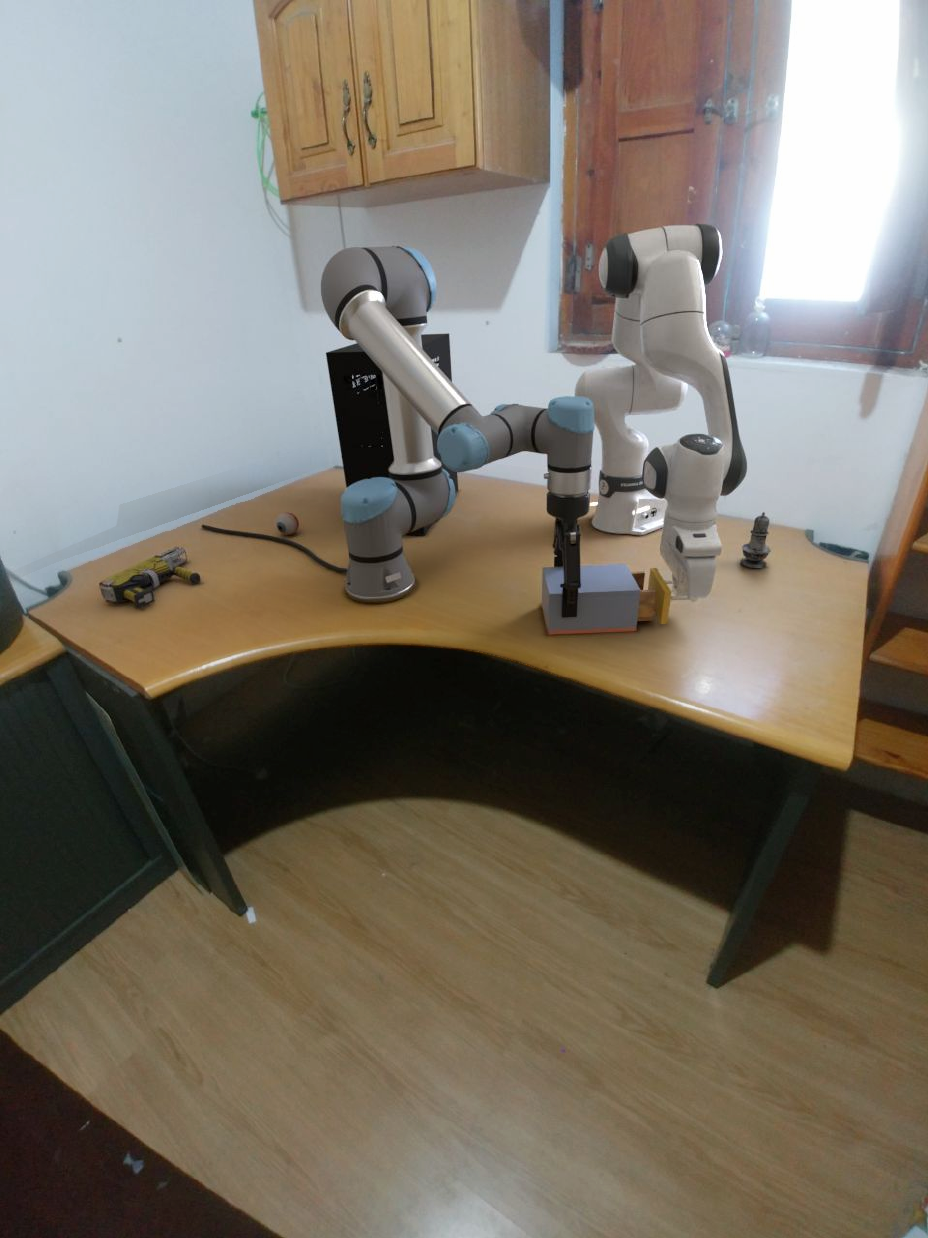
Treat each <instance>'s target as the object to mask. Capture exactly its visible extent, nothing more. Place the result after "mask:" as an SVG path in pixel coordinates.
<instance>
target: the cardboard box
mask: <svg viewBox="0 0 928 1238" xmlns="http://www.w3.org/2000/svg"><path fill="white" fill-rule="evenodd" d="M421 340H422V349H423V351H424V352H425V353H426V354H427V355H428V356H429V357H430V358H431V359H432V360H434V361H433V362H434V363H435V364H436V365H437V366H438V367H439V368H440V370H441V371H442V372H443V373H444V374H445V375H446V376H447V377H448V379H449V380H450V381H451V382H452V383H453V375H452V357H451V343H450V342H451V340H450V333H429V334H428V333H424V334H423V333H422V334H421ZM325 356H326V362H327V364H326V365H327V370H328V374H329V383H330V390H331V396H332V402H333V409H334V415H335V421H336V428H337V429H336V430H337V435H338V441H339V448H340V454H341V455H340V456H341V461H342V469H343V474H344V482H345V487H346V488H347V487H349V486H350V485H352V484H354V483H356V482H358V481H361V480H364V479H371V478H374V477H385V478H389V479H390V476H389V467H390V465H391V464H392V463H393V461H394V454H393V447H392V440H391V432H390V425H389V418H388V410H387V403H386V396H385V389H384V381H383V374H382V371H381V370H380V368H379V367H378V366H377V365H376V364H375V363H374V361H373V360H372V359H371V358H370V357H369V356H368V355H367V353H366V352H365V351H364V350H363V349H362V348H361V347H360V345H359V344H358V343H357V342H355V343H353V344H350V345H347V346H343V347H339V348H337V349H333V350H330V351H327V352H325ZM431 435H432V445H433V454H434V457H435V458H437V459H438V460H439V461H440V462H441V464H442V468H443V469H444V470H446V471H447V472H448V473H449V475H450V477H449V478H450V479H452V480H453V483H454V486H455V495H456V494H457V493H458V491H459V481H458V480H459V479H458V472H455V471H452V470H450V469H448V468H447V467H446V466H445V465H444V463H443V462H442V460H441V455H440V454H439V453H438V448H437V442H438V437H439V436H438V435H437V434H436V433H435V431H434V430H433V429H432V428H431ZM346 488H345V489H346ZM434 524H435V523H433V524H429V525H427V526H424V527H422V528H419V529H417V530H414V531H412V532H410V533H407V534H405V535H404V536H406V535H407V536H426V534H428V532H429V531H430V529H431V528H432V526H433V525H434Z"/></svg>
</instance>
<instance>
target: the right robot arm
mask: <svg viewBox="0 0 928 1238" xmlns="http://www.w3.org/2000/svg"><path fill="white" fill-rule="evenodd" d="M722 256H723V243H722V236H721V233H720V232H719V230H718V229H717V227H716V226H714V225H712V224H707V223H696V224H694V225H692V224H690V225H689V224H675V225H662V226H660V227H655V228H649V229H648V228H647V229H643V230H638V231H635V232H631V233H627V232H622V233H619V234H617V235H614V236H612V237H610V238H608V239H607V241H606V242H605V244H604V245H603V248H602V251H601V254H600V257H599V261H598V277H599V282H600V284H601V288H602V290H603V291H604V292H605V293H606V294H607V295H608V296H609V297H613V298H615V301H614V310H613V311H614V313H613V323H612V331H611V333H612V334H611V343H612V346H613V349H615V351H616V352H617V353H618V354H619V355H620V356H622V357H623V358H624V359H626V360H628V361H630V362H632V363H634V364H632V365H617V366H616V365H614V366H601V367H597V368H596V367H595V368H593V369H589V370H585V371H583V372H582V373H581V375H580V376H579V377H578V379H577V381H576V384H575V387H574V396H579V397H586V398H588V399H590V400H591V401H592V402H593V405H594V425H595V427H596V429H597V431H598V434H599V436H600V437H599V438H600V443H601V468H600V470H599V474H598V492H599V493H598V498H597V501H596V502H590V505H589V507H592V506H596V507H595V511H594V514H593V517H592V520H591V525H592V526H593V527H594V528H595V529H597V530H599V531H601V532H605V533H611V534H623V535H625V534H626V535H632V536H633V535H634V536H645V535H646V534H650V533H652V532H654V531H657V530H660V529H662V533H661V538H660V544H659V555H660V556H661V558H662V560H663V561H664V563H665V564H666V566H667V567H668V569H669V571H670V572H671V580H672V581H673V584H672V589H671V593H672V594H673V596H687V597H688V598H698V599H705V598H707V597H708V596H709V595H710V594H711V592H712V588H713V583H714V579H715V574H716V570H717V556H718V557H719V556H720V555H721V554H722V549H723V544H722V541H721V540H720V536H719V534H718V526H717V519H718V500H719V498H720V497H726V496H729V495H730V494H732V493H733V492H734V491H735V490H736V489H737V488H738V487H739V486H740V485H741V484H742V482H743V481H744V480H745V478H746V476H747V473H748V460H747V455H746V452H745V449H744V446H743V444H742V440H741V436H740V431H739V424H738V419H737V412H736V406H735V398H734V393H733V387H732V382H731V376H730V371H729V365H728V362H727V359H726V355H725V353H724V351H722V350H721V349H719V348H717V346H716V345H715V344H714V342H713V340H712V338H711V335H710V334H709V330H708V326H707V310H706V309H707V308H706V292H705V286H707V285H709V284H710V283H711V282H712V281H713V280H714V278H716V276H717V275H718V272H719V269H720V265H721V262H722ZM689 386H690V387H692V388H693V389H694V390H695V391H697V393H698V394H699V395H700V397H701V399H702V403H703V409H704V415H705V422H706V427H707V434H705V433H690V434H685V435H683V436H681V437H680V438H678V440H677V441H676V442H675V443H672V444H671V443H670V444H665V445H659V446H655V447H654V448H653V449H652V450H650V452H649V446H650V443H649V440H648V437H646V435H645V434H644V433H643V432H641V431H639V430H638V429H636V428H634V427H631V426H629V425H628V424H627V423H626V420H625V419H626V417H627V416H639V415H640V416H644V415H649V416H650V415H660V414H666V413H669V412H673V411H676V410H678V409H679V408H680V407H681V406H682V404H683V403H684V401H685V399H686V398H687V394H688V389H689Z"/></svg>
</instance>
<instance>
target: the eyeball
mask: <svg viewBox="0 0 928 1238" xmlns="http://www.w3.org/2000/svg"><path fill="white" fill-rule="evenodd" d="M299 525H300V522H299V519H298V517H297V516H296V515H295V514H294V513H292V512H287V511H286V512H282V513H280V514H279V515H278V516H277V517H276V520H275V527H276V529H277V530H278V531H279V532H280V533H281V534H282V535H285V536H286V535H287V536H289V535H293V534H295V533H296V532H297V531H298V529H299Z"/></svg>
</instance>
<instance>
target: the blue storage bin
mask: <svg viewBox="0 0 928 1238" xmlns="http://www.w3.org/2000/svg"><path fill="white" fill-rule="evenodd" d="M541 571H542V573H541V574H542V575H541V608H542V613H543V617H544V621H545V626H546V631H547V634H548V635H550V636H551V635H571V634H574V635H575V634H596V633H597V634H598V633H599V634H600V633H619V632H637V627H638V626H637V625H638V621H637V617H638V608H639V599H640V588H639V587H638V585H637V583H636V581H635V579H634V577H633V576H632V574H631V572H632V571H631V570H630V569H629V566H628V565H627V563H614V564H613V563H612V564H611V563H610V564H609V563H608V564H592V565H591V564H589V565H588V564H587V565H580V574H581V588H578V604H577V617H565V618H562V588H560V584H564V573H563V567H554V566H545V567H542V569H541Z"/></svg>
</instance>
